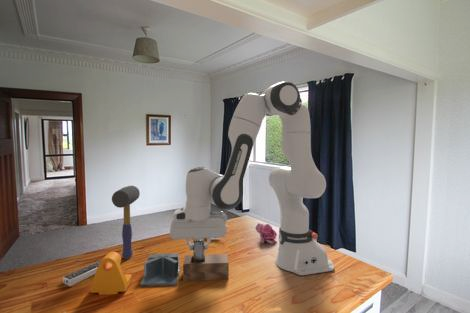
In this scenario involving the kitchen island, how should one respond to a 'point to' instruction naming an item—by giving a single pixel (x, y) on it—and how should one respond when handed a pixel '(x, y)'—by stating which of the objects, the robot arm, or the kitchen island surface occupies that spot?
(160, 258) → the V-block
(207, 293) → the kitchen island surface
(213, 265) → the walnut beam
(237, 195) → the robot arm
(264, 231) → the flower
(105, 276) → the bracket
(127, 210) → the rubber mallet
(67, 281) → the multiport hub
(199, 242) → the steel axle
